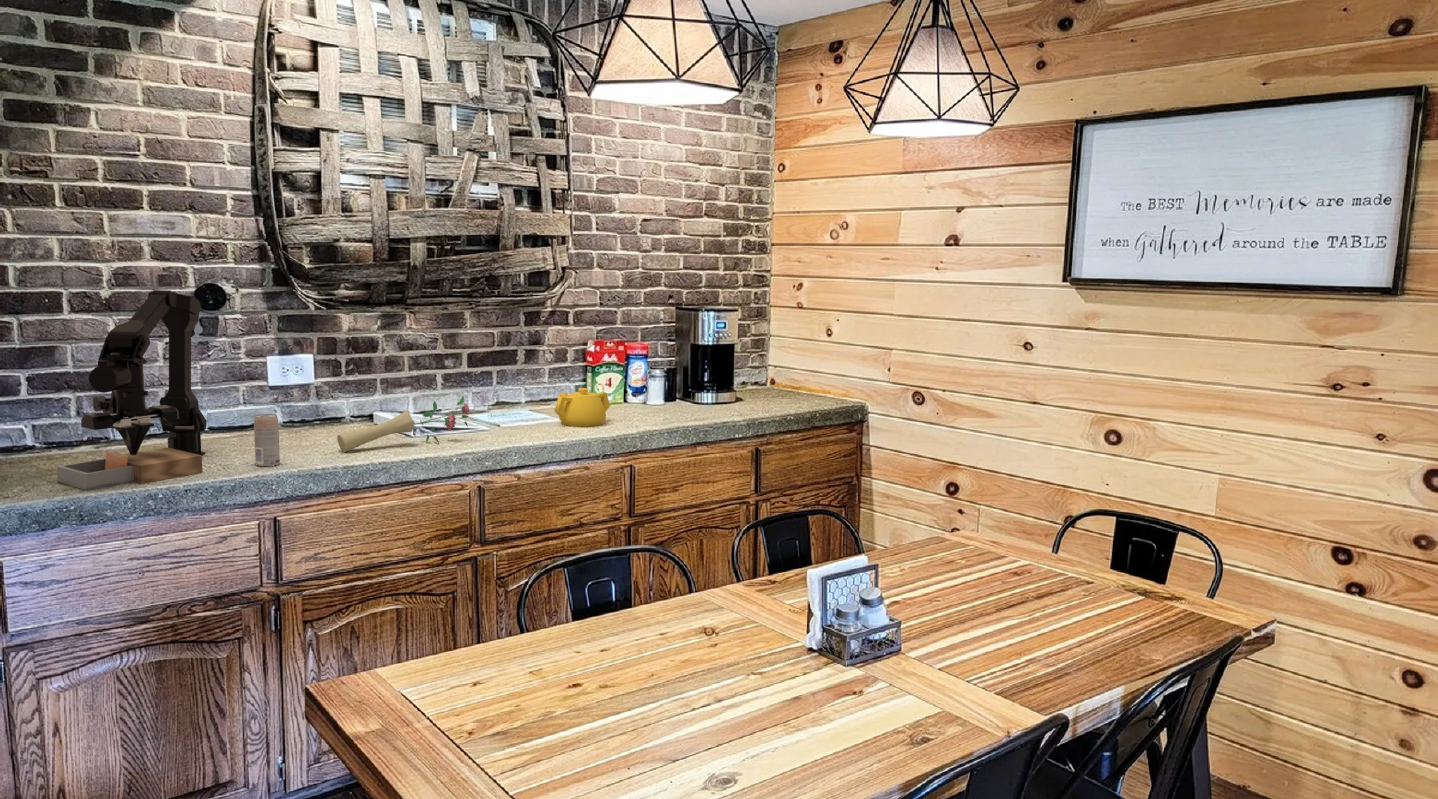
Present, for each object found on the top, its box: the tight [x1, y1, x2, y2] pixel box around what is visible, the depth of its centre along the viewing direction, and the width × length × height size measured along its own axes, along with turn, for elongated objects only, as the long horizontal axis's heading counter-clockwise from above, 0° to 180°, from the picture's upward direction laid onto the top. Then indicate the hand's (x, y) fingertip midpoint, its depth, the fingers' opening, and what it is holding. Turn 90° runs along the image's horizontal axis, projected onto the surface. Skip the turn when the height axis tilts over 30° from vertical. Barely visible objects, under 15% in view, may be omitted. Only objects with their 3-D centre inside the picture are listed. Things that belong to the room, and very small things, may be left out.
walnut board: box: [122, 446, 204, 484], centre depth 230 cm, size 14×14×4 cm
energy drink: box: [253, 413, 281, 467], centre depth 242 cm, size 5×5×12 cm
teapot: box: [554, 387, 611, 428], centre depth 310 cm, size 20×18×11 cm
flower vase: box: [336, 396, 470, 453], centre depth 269 cm, size 12×12×35 cm
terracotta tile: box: [105, 451, 128, 470], centre depth 223 cm, size 5×5×2 cm
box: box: [56, 458, 135, 491], centre depth 221 cm, size 10×12×4 cm
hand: (133, 454), depth 226 cm, fingers closed
